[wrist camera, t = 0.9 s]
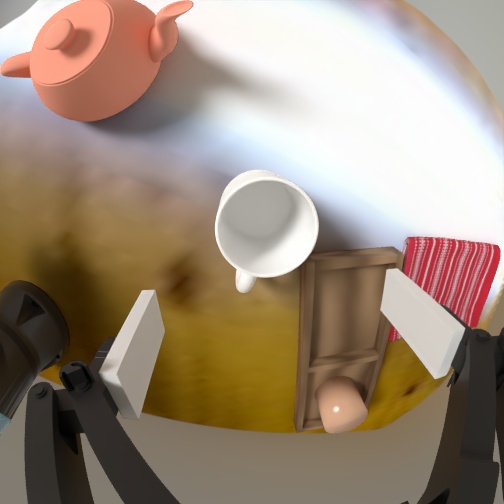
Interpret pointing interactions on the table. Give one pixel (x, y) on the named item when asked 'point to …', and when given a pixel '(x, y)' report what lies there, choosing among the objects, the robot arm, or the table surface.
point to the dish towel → (451, 274)
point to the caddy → (341, 324)
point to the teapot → (97, 56)
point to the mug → (264, 226)
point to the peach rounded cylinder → (340, 405)
